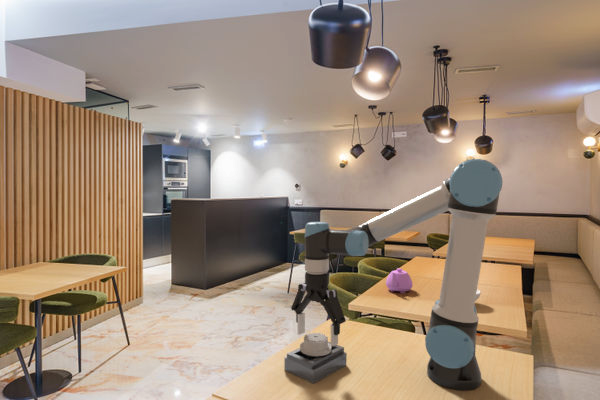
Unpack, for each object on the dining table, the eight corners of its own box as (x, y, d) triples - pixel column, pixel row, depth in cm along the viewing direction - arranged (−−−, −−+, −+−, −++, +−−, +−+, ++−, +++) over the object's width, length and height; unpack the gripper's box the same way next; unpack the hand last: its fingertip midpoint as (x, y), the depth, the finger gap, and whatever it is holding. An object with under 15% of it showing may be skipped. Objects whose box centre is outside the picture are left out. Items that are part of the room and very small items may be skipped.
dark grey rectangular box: (351, 362, 126) (352, 345, 126) (313, 383, 112) (313, 365, 112) (323, 351, 134) (323, 335, 134) (284, 370, 120) (284, 352, 120)
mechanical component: (337, 349, 123) (312, 341, 129) (337, 335, 122) (313, 328, 129) (318, 360, 115) (293, 350, 121) (318, 345, 115) (293, 337, 121)
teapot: (405, 297, 199) (406, 274, 199) (379, 293, 207) (379, 270, 206) (416, 288, 216) (417, 267, 216) (392, 285, 224) (392, 264, 223)
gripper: (357, 275, 115) (357, 346, 116) (296, 264, 132) (296, 326, 133) (342, 280, 110) (342, 354, 110) (280, 268, 126) (280, 332, 127)
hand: (317, 338), depth 121 cm, fingers open, 13 cm apart
